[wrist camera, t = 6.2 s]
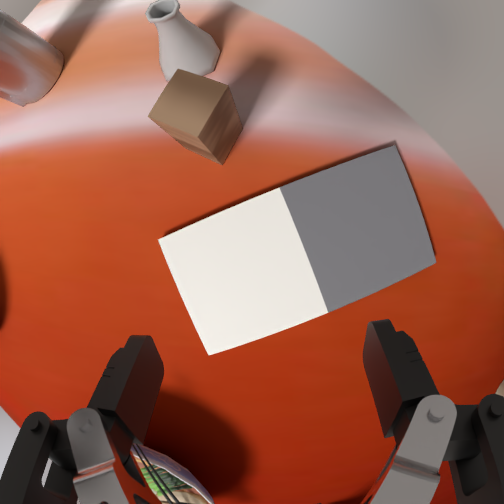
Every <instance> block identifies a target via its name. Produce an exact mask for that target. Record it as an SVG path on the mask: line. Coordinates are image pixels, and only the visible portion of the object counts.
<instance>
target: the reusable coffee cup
mask: <svg viewBox="0 0 504 504" xmlns="http://www.w3.org/2000/svg"><path fill="white" fill-rule="evenodd" d="M496 394H498V395H501V396H503V397H504V380H503V381H502V383H501V384H500V386H499V388H498V390H497V392H496Z"/></svg>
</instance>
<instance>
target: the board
mask: <svg viewBox="0 0 504 504" xmlns="http://www.w3.org/2000/svg"><path fill="white" fill-rule="evenodd" d="M158 241H159V243H160V246H161V249H162V251H163V254H164V256H165V259H166V261H167V263H168V266H169V268H170V271H171V273H172V276H173V278H174V280H175V283H176V285H177V287H178V290H179V292H180V294H181V297H182V299H183V301H184V303H185V306H186V308H187V310H188V312H189V315H190V317H191V319H192V321H193V323H194V325H195V328H196V330H197V332H198V334H199V336H200V338H201V340H202V342H203V345H204V347H205V349H206V351H207V353H208V355H212V354H215V353H218V352H221V351H224V350H227V349H231V348H234V347H237V346H240V345H243V344H246V343H248V342H251V341H254V340H257V339H260V338H263V337H266V336H268V335H271V334H274V333H277V332H279V331H282V330H285V329H287V328H290V327H293V326H295V325H298V324H301V323H303V322H306V321H308V320H311V319H313V318H316V317H318V316H321V315H323V314H326V313H328V312H331V311H333V310H335V309H338V308H340V307H343V306H345V305H347V304H350V303H352V302H354V301H357V300H359V299H361V298H363V297H366V296H368V295H370V294H372V293H375V292H377V291H379V290H381V289H383V288H385V287H388V286H390V285H392V284H394V283H396V282H398V281H400V280H402V279H404V278H407V277H409V276H411V275H413V274H415V273H417V272H419V271H421V270H423V269H425V268H427V267H429V266H431V265H432V264H434V263H436V260H435V256H434V252H433V248H432V245H431V241H430V238H429V235H428V231H427V228H426V225H425V222H424V219H423V216H422V213H421V210H420V207H419V204H418V201H417V198H416V196H415V193H414V190H413V187H412V185H411V182H410V180H409V177H408V175H407V172H406V170H405V167H404V165H403V162H402V160H401V158H400V155H399V153H398V151H397V148H396V146H395V145H394V146H391V147H388V148H385V149H382V150H379V151H376V152H373V153H370V154H367V155H365V156H362V157H359V158H356V159H353V160H351V161H348V162H345V163H342V164H340V165H337V166H334V167H331V168H329V169H326V170H323V171H321V172H318V173H315V174H313V175H310V176H308V177H305V178H302V179H300V180H297V181H295V182H292V183H290V184H287V185H284V186H282V187H279V188H277V189H274V190H272V191H269V192H267V193H265V194H262V195H260V196H257V197H255V198H252V199H250V200H247V201H245V202H243V203H240V204H238V205H236V206H233V207H231V208H228V209H226V210H224V211H221V212H219V213H217V214H214V215H212V216H210V217H208V218H205V219H203V220H201V221H198V222H196V223H194V224H192V225H189V226H187V227H185V228H183V229H180V230H178V231H176V232H174V233H172V234H169V235H167V236H165V237H163V238H161V239H159V240H158Z"/></svg>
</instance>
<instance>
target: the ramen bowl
mask: <svg viewBox="0 0 504 504" xmlns="http://www.w3.org/2000/svg"><path fill="white" fill-rule="evenodd" d="M131 451H132V453H133V455H134V457H135V459H136V461H137V463H138V465H139V467H140V469H141V471H142V473H143V475H144V477H145V479H146V481H147V483H148V485H149V487H150V488H151V490H152V491H153V493H154V494H155V495H156V496H157V497H158V499H159V500H160V501H161V502H162V504H177V503H178V502H184V503H192V504H215V503H214V501H213V499H212V497H211V496H210V494H209V492H208V491H207V490H206V489H205V488H204V486H203V485H202V484H201V483H200V482H199V481H198V480H197V479H196V478H195V477H194V476H193V475H192V473H191V472H190V471H189V470H188V469H186V468H185V467H183V466H182V465H180V464H179V463H177V462H176V461H174V460H173V459H171V458H170V457H168V456H167V455H164V454H162V453H159V452H157V451H155V450H152V449H150V448H148V447H146V446H143V445H139V444H134V443H132V447H131Z"/></svg>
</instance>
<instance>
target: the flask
mask: <svg viewBox="0 0 504 504" xmlns="http://www.w3.org/2000/svg"><path fill="white" fill-rule="evenodd" d="M179 8H180V4H179V3H178V1H177V0H158V1H156V2H154V3H151V4H150V6H149V7H148V9H147V11H146V13H145V14H146V16H147V19H148V21H149V22H150V23H154V24H155V26H156V27H157V30H158V34H159V63H160V66H161V69H162V71H163V74H164V76H165V79H166V81H170V79H171V78H172V76H173V75H174V73H175V72H176V70H177V69H182V70H185V71H188V72H191V73H194V74H197V75H200V76H204V75H206V74H208V73H211V72H213V71H214V68H215V65H216V62H217V60H218V57H219V54H220V50H219V48H218V46H217V45H216V43H215V41H214V39H213V38H212V36H211V35H209V34H208V33H206V32H205V31H203V30H202V29H200V28H198V27H197V26H196V25H194V24H193V23H191V22H190V21H188V20H187V19H186V18H185V17H184V16H183V15H182V14H181V13H180V12H179Z"/></svg>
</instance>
